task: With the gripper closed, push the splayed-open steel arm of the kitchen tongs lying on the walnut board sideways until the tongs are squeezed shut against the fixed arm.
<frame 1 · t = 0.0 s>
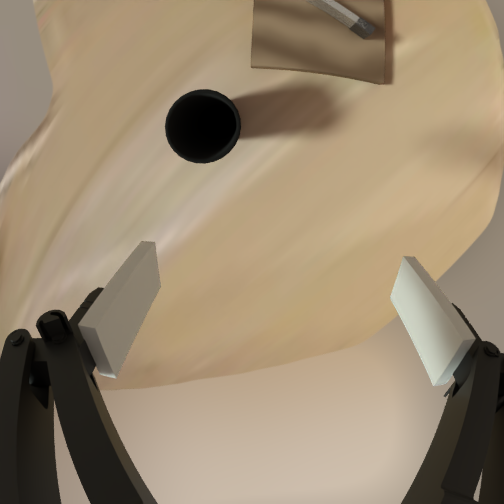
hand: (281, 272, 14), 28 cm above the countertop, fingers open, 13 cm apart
tong arm: (327, 5, 25), point 4 cm above the countertop, hinge at -30.0°
cup: (220, 122, 37), on the countertop
board: (319, 18, 28), on the countertop
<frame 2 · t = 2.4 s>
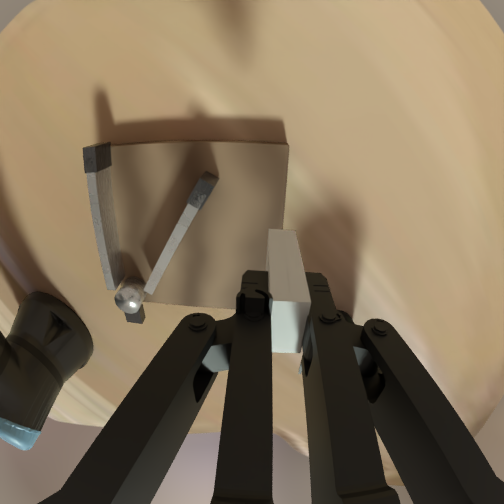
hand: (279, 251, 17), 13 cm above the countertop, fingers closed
tong arm: (176, 236, 26), point 4 cm above the countertop, hinge at -30.0°
tongs fixed: (136, 287, 31), resting on board
board: (194, 226, 30), on the countertop
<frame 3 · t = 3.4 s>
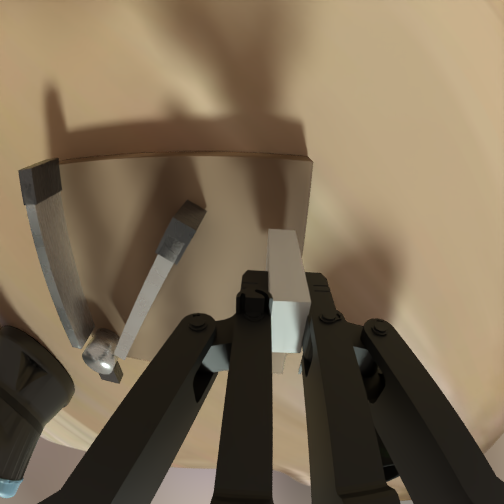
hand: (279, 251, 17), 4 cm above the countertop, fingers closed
tong arm: (149, 292, 18), point 4 cm above the countertop, hinge at -30.0°
cup: (350, 379, 28), on the countertop
tongs fixed: (109, 340, 23), resting on board
board: (176, 270, 22), on the countertop
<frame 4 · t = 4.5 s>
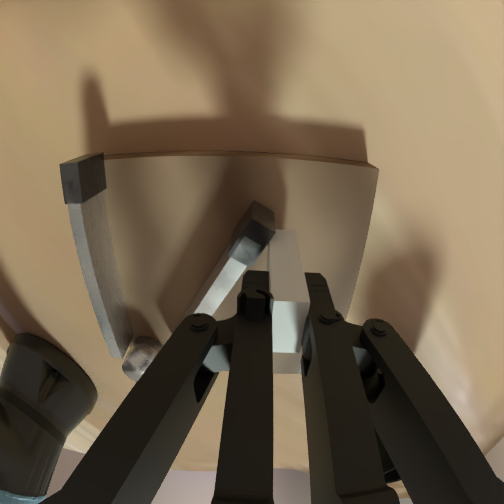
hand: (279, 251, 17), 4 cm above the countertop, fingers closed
tong arm: (208, 297, 18), point 4 cm above the countertop, hinge at -29.3°, touching gripper
cup: (384, 376, 27), on the countertop
tongs fixed: (149, 347, 23), resting on board
board: (229, 274, 22), on the countertop
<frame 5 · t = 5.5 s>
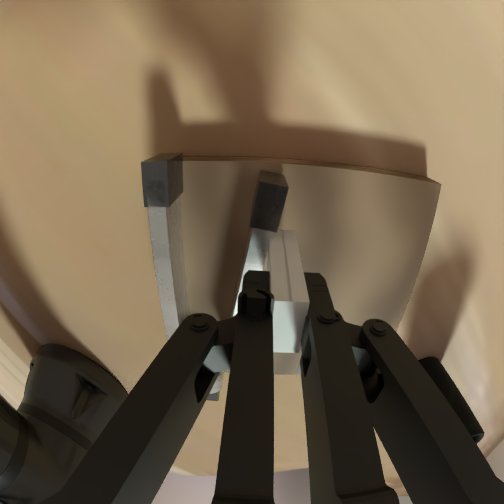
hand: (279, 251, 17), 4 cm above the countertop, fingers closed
tong arm: (247, 281, 18), point 4 cm above the countertop, hinge at -10.0°, touching gripper
cup: (419, 371, 28), on the countertop
tongs fixed: (207, 356, 23), resting on board
board: (298, 279, 22), on the countertop
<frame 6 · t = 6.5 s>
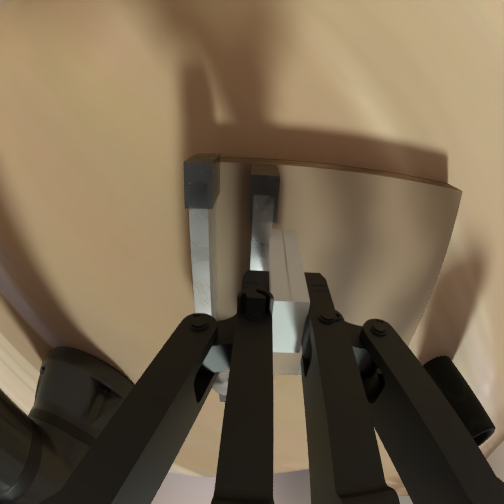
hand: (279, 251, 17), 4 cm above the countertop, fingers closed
tong arm: (258, 276, 18), point 4 cm above the countertop, hinge at -0.2°, touching gripper
cup: (431, 370, 28), on the countertop
tongs fixed: (233, 358, 23), resting on board
board: (325, 281, 22), on the countertop
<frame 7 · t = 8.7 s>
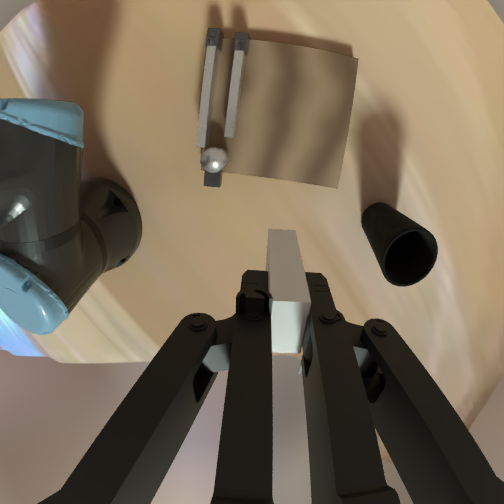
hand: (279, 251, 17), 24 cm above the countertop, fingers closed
tong arm: (236, 84, 29), point 4 cm above the countertop, hinge at -0.2°
cup: (378, 219, 40), on the countertop
tongs fixed: (217, 156, 35), resting on board
board: (278, 109, 34), on the countertop
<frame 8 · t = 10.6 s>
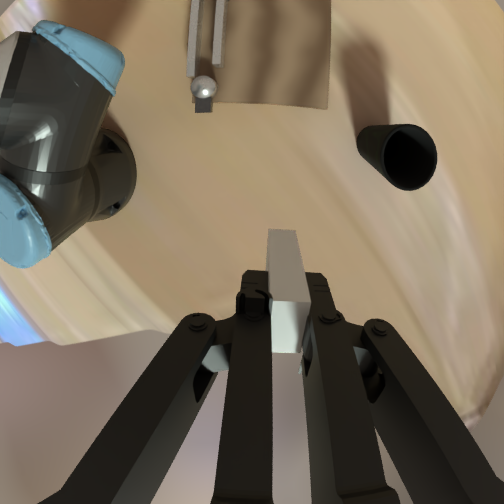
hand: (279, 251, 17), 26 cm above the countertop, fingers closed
tong arm: (220, 22, 27), point 4 cm above the countertop, hinge at -0.2°
cup: (373, 143, 38), on the countertop
tongs fixed: (207, 88, 33), resting on board
board: (262, 44, 32), on the countertop
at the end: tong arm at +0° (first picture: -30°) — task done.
